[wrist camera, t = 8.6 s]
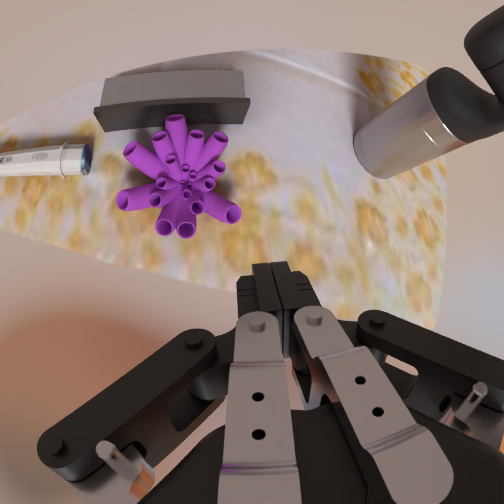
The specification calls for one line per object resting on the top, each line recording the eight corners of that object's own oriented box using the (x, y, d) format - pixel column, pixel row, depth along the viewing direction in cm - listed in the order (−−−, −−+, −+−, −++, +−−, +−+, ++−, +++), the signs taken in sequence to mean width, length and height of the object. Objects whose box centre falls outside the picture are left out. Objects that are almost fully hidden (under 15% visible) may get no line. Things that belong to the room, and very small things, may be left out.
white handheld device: (81, 173, 28) (-55, 183, 20) (92, 188, 34) (-34, 193, 26) (89, 133, 28) (-47, 149, 20) (97, 153, 35) (-28, 162, 26)
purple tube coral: (171, 245, 37) (115, 244, 28) (168, 140, 37) (118, 120, 29) (248, 234, 32) (197, 229, 23) (238, 115, 32) (192, 80, 24)
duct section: (240, 91, 36) (247, 68, 31) (242, 124, 36) (250, 103, 30) (110, 98, 32) (100, 76, 27) (104, 132, 32) (93, 112, 27)
